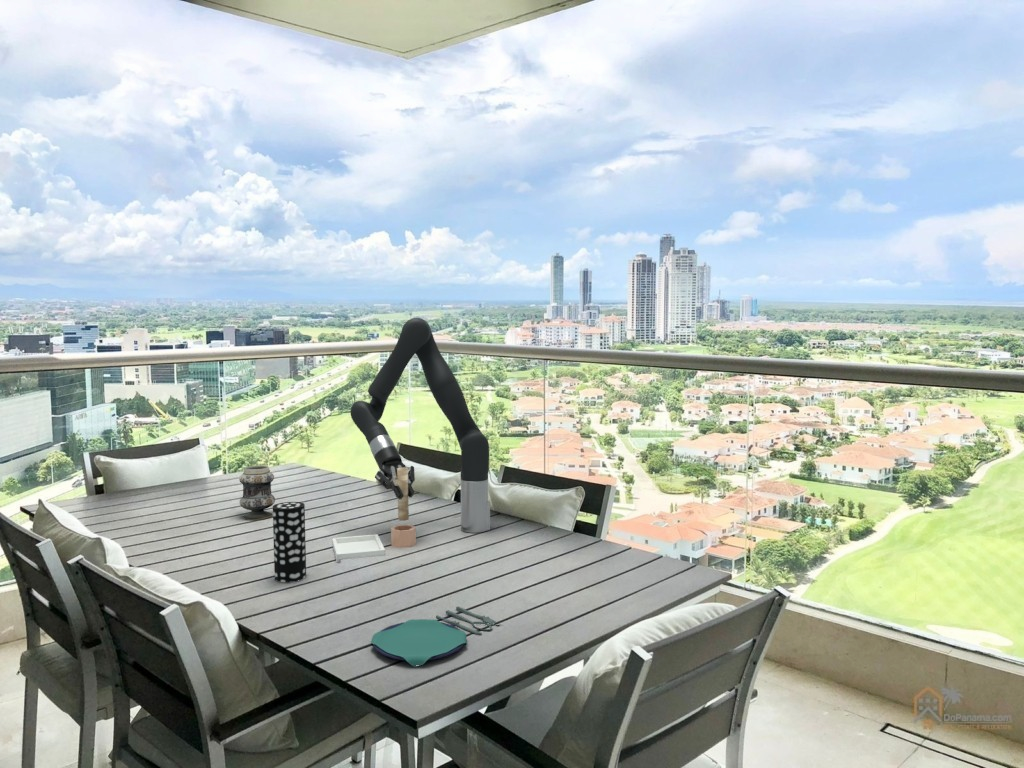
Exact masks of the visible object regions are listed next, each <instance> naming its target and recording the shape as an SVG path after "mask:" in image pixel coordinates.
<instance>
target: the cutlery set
mask: <svg viewBox="0 0 1024 768" xmlns="http://www.w3.org/2000/svg"><path fill="white" fill-rule="evenodd" d="M455 611H457V612H461V613H463V614H465V615H468V616H470V617H473V618H475V617H476V618H477V619H479V620H481V621H472V620H470V619H468V618H466V617H464V616H462V615H460V614H458V613H455V612H454V611H451V610H449V609H447V610H445V614H446V615H449V616H451V617H456V618H458V619H460V620H462V621H465V622H468V623H469V624H471V625H472V626H473V628H474V629H473V628H470V627H468V626H465V625H462V624H460V621H458V622H457V621H456V620H450V619H448V618H444V617H442V616H439V614H437V615H436V616H435V618H437V619H440V620H442V621H445V622H447V623H445V622H442V621H439V620H436V619H427V618H425V619H423V618H420V619H418V618H416V619H408V620H407V621H405V622H400V623H399V622H398V623H396V624H393V625H389V626H387V627H385V628H383V629H381V630H379V631H377V632H375V633H374V634H373V635H372V637H371V638H372V639H371V641H370V646H373V647H374V650H375V651H377V652H378V653H379V654H381V655H383V656H385V657H388V658H391V659H394V660H400V661H406V662H407V663H408V664H409V665H411V666H412V667H414V666H416V665H419V666H420V665H422V666H423V665H424V664H425V663H426V662H427V661H431V660H437V659H441V658H445V657H447V656H450V655H452V654H454V653H456V652H457V651H460V650H461V648H462V647H463V646H466V645H467V636H468V635H467V633H466V632H469V631H470V632H469V633H471V632H472V633H471V634H474V633H475V634H474V635H478V634H480V635H479V636H481V634H483V633H482V632H481V631H490V630H492V629H493V626H494V624H495V623H496V622H497V621H496V620H494V619H492V618H490V616H486V615H479V614H476V613H473V612H471V611H469V610H467V609H465V608H463V607H461V606H458V605H457V606H456V607H455ZM484 622H486V623H484ZM449 623H450V624H449ZM487 623H489V624H487ZM493 623H494V624H493ZM474 624H476V625H481V624H485V625H484V626H486V625H487V626H489V627H490V629H489V627H488V629H487V628H480V627H477V626H476V625H474ZM491 624H492V625H491ZM456 626H457V627H456ZM487 626H486V627H487ZM460 628H461V629H460ZM462 629H463V630H464V631H463V630H462ZM479 629H480V630H479ZM466 630H467V631H466ZM478 630H479V631H478ZM465 631H466V632H465ZM463 644H464V645H463ZM420 667H421V666H420Z"/></svg>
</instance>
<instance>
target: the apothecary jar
mask: <svg viewBox="0 0 1024 768" xmlns="http://www.w3.org/2000/svg"><path fill="white" fill-rule="evenodd" d="M238 480H239V482H240V483H241V484H242V488H243V489H242V497H241V498H240V499H239V505H240V506H241V508H243V509H245V510H247V511H249V512H248V513H246V514H244V515H243V519H244V518H245V520H247V519H249V521H253V520H254V521H257V520H258V521H259V520H266V519H269V518H271V517H273V512H270V511H267V510H266V509H268V508H270V507H273V505H275V501H276V498H275V496H274V495H273V494H272V482H273V481H274V480H275V475H274V473H272V472H271V471H270V468H269V465H250V466H245V467H244V469H243V473H241V475H240V476H239V479H238Z"/></svg>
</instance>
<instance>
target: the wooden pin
mask: <svg viewBox="0 0 1024 768" xmlns="http://www.w3.org/2000/svg"><path fill="white" fill-rule="evenodd" d="M406 467H407V466H406ZM406 467H401V468H397V483H398V485H397V486H399V487H400V489H401V491H402V493H403V498H402V499H398V498H397V516H398V517H397V519H398V521H401V522H404V521H408V520H409V519H410V515H409V514H410V513H409V511H410V510H409V496H408V468H406Z"/></svg>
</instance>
